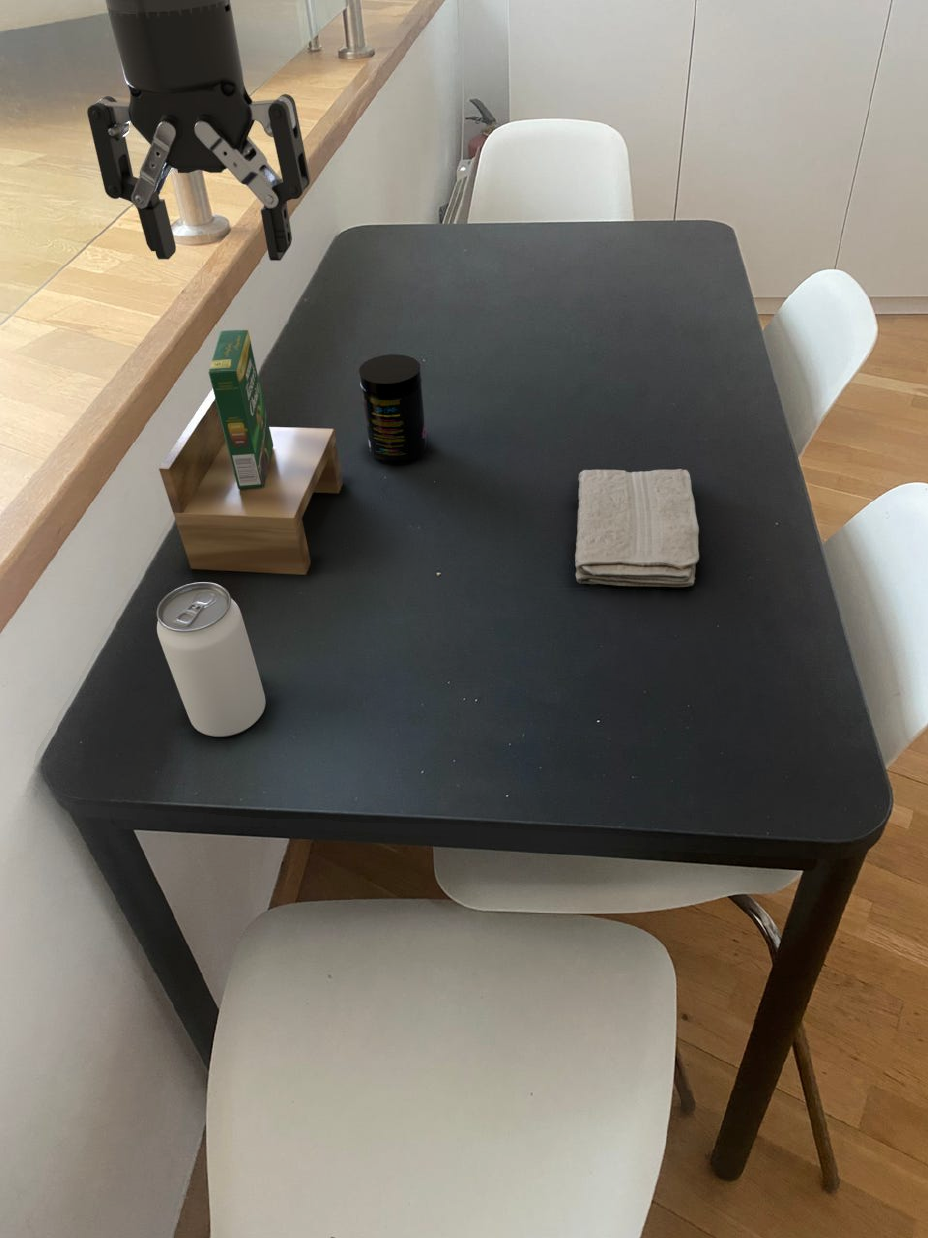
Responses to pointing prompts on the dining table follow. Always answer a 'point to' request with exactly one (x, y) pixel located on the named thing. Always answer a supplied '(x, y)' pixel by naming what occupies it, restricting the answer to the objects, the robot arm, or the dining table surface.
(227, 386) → the coffee box
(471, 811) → the dining table surface
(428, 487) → the dining table surface
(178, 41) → the robot arm
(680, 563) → the washcloth
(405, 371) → the supplement container
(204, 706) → the can
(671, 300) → the dining table surface
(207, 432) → the shelf
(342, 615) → the dining table surface
